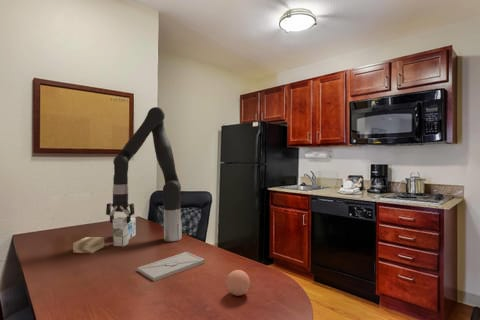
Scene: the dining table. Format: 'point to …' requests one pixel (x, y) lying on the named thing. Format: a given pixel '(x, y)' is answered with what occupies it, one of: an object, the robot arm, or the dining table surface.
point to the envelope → (170, 266)
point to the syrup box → (120, 231)
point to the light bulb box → (132, 228)
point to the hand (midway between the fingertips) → (120, 223)
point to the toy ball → (238, 282)
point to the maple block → (88, 245)
